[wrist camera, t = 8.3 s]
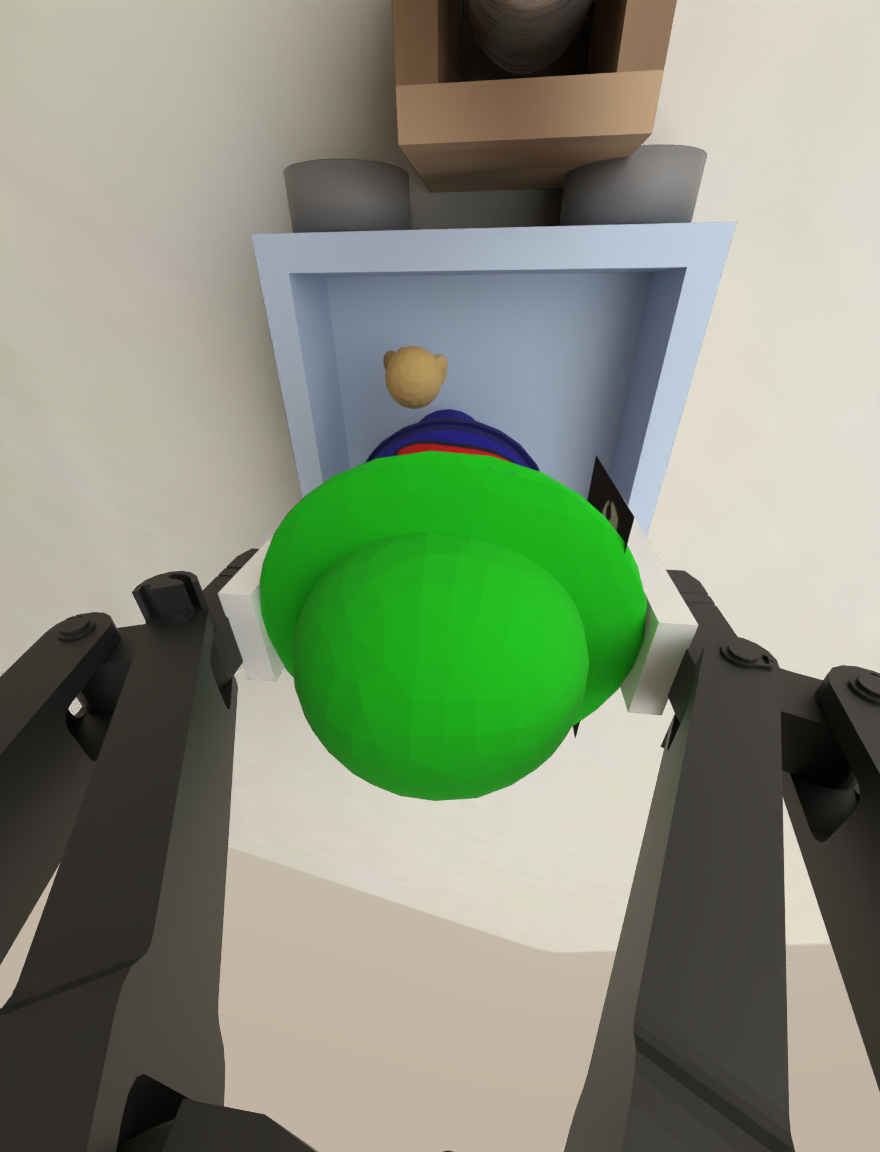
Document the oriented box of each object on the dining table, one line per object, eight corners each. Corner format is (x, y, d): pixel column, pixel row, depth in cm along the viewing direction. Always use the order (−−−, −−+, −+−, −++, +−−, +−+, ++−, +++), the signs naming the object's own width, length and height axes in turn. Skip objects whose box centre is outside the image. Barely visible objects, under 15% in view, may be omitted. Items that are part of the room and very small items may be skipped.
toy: (584, 567, 22) (703, 937, 9) (420, 594, 24) (334, 927, 11) (551, 296, 16) (759, 305, 3) (335, 364, 18) (-41, 530, 5)
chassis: (358, 619, 27) (335, 671, 23) (298, 189, 16) (236, 158, 12) (587, 635, 26) (602, 693, 22) (695, 175, 15) (761, 134, 11)
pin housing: (431, 192, 16) (398, 145, 11) (427, -85, 12) (376, -340, 7) (602, 186, 15) (652, 132, 10) (646, -107, 12) (751, -402, 7)
